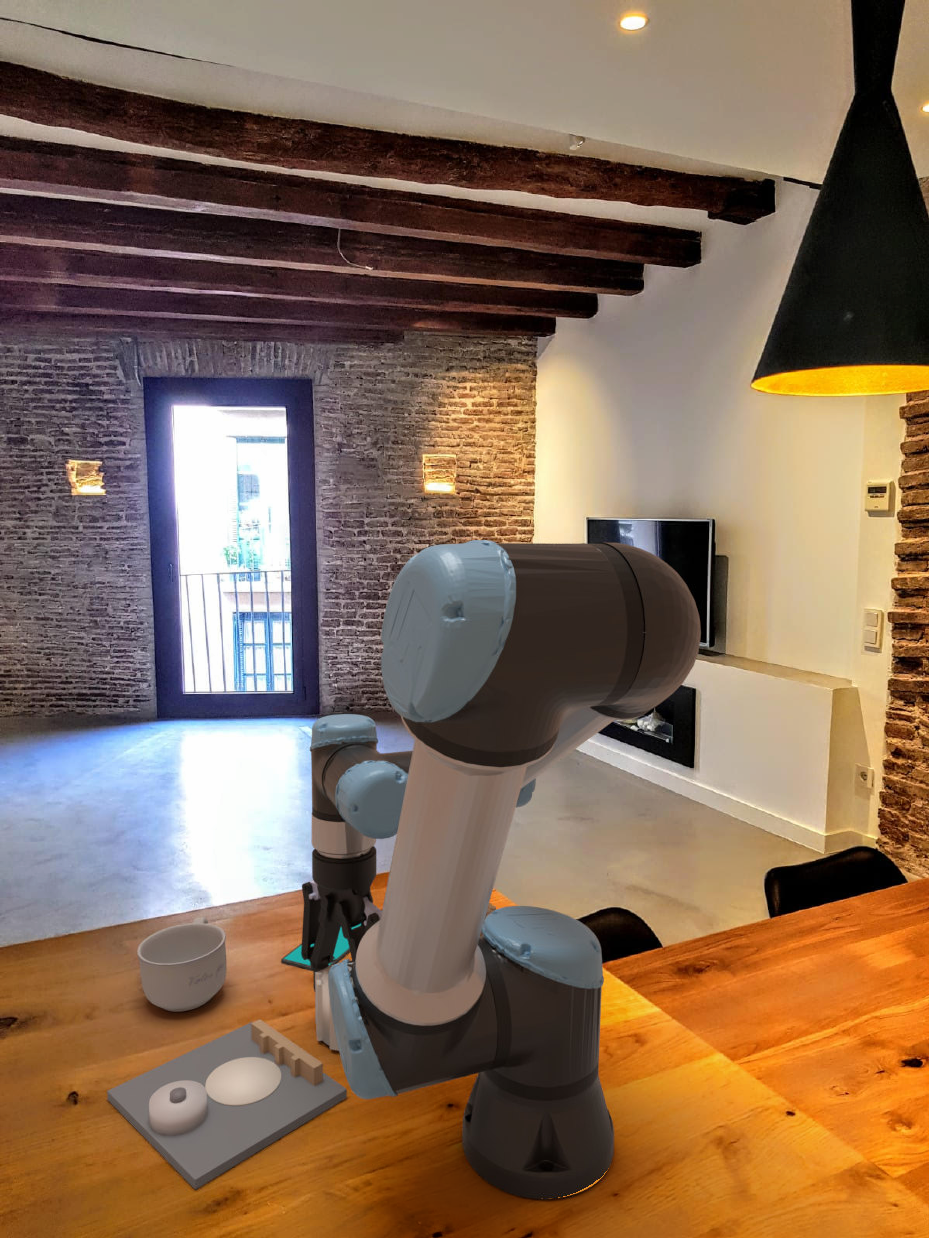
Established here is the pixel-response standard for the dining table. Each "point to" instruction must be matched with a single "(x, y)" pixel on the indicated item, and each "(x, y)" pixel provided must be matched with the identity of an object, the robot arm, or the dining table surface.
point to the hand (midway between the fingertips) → (345, 1031)
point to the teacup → (183, 965)
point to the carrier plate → (226, 1100)
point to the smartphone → (295, 955)
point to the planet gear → (324, 1013)
